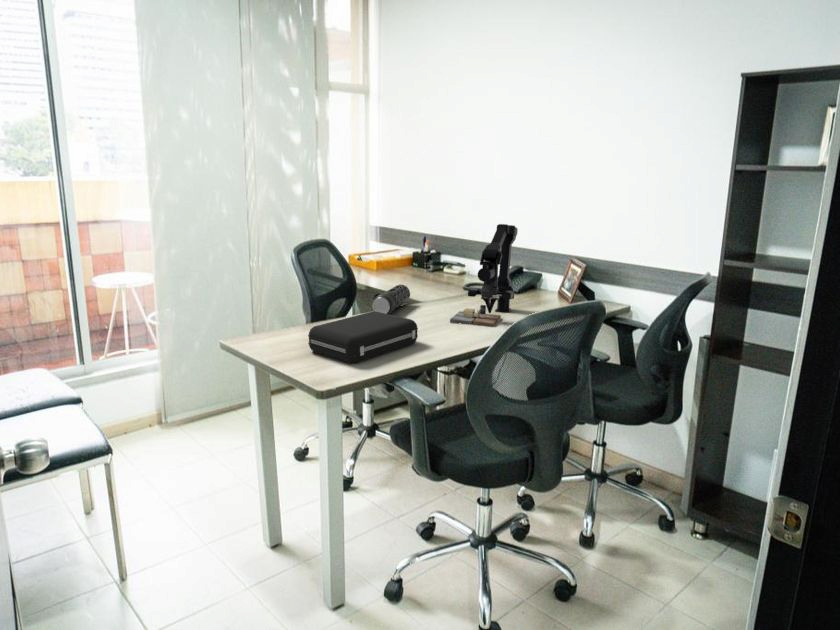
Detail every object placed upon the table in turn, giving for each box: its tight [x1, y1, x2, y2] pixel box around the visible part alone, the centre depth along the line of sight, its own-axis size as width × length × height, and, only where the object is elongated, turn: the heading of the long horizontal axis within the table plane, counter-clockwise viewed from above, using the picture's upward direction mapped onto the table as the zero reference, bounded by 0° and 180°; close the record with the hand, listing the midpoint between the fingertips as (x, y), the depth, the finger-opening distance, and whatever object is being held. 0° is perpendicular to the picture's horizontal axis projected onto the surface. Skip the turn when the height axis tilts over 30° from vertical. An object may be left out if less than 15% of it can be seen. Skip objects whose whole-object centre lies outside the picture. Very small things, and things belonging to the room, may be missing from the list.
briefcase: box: [307, 310, 419, 364], centre depth 235 cm, size 36×32×10 cm
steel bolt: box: [473, 304, 487, 318], centre depth 272 cm, size 2×8×5 cm, turn 70°
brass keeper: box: [463, 307, 480, 319], centre depth 273 cm, size 4×7×3 cm, turn 70°
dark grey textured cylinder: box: [371, 284, 411, 315], centre depth 287 cm, size 10×28×10 cm, turn 163°
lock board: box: [449, 310, 502, 328], centre depth 273 cm, size 15×19×2 cm
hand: (489, 312), depth 270 cm, fingers closed
